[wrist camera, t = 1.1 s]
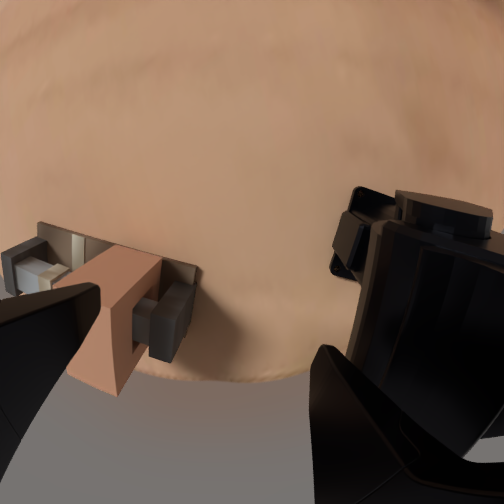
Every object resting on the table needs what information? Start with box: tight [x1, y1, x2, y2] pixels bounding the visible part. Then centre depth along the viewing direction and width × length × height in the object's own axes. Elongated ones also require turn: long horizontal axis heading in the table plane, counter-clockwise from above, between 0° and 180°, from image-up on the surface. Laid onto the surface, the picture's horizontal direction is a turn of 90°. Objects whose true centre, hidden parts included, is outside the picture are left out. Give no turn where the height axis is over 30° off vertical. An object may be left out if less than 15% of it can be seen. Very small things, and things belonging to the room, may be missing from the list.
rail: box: [1, 222, 197, 363], centre depth 19 cm, size 16×6×5 cm, turn 77°
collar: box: [52, 245, 163, 397], centre depth 17 cm, size 4×7×8 cm, turn 166°
